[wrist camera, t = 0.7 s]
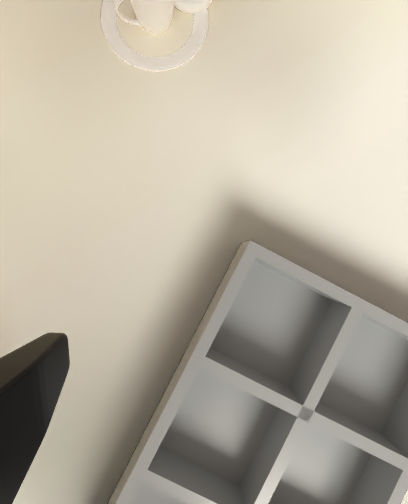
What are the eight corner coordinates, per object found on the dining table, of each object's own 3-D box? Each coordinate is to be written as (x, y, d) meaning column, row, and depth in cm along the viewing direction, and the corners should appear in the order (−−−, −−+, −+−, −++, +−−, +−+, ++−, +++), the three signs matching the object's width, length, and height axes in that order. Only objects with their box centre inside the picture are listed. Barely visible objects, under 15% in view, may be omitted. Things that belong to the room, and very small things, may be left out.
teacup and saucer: (211, -36, 24) (215, -95, 20) (225, 67, 24) (233, 29, 20) (95, -25, 24) (76, -83, 19) (110, 80, 24) (93, 44, 19)
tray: (287, 634, 23) (305, 701, 20) (88, 540, 23) (69, 592, 19) (430, 341, 24) (471, 356, 21) (241, 242, 23) (250, 240, 20)
